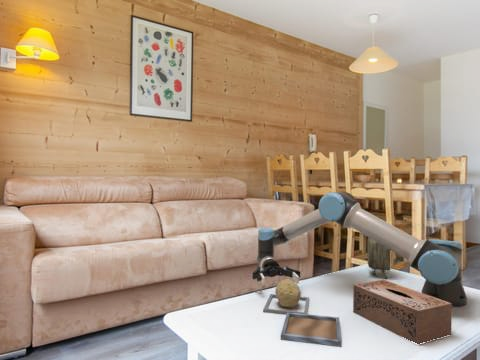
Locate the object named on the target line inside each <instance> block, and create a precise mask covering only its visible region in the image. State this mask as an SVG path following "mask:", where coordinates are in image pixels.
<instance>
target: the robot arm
mask: <svg viewBox="0 0 480 360" xmlns="http://www.w3.org/2000/svg"><path fill="white" fill-rule="evenodd" d="M329 222H330V223H336V224H338V225H340V226H341V227H343V228H352V229H354V230H355V231H357V232H358V233H361V234H363V235H364V236H365V237H368V239H369V238H371V239H372V240H374V241H376V242H378V243H379V244H381V245H383V246H385V247H386V248H388V249H390V250H391V252H393V253H395V254H397V255H398V256H400V257H401V258H404V259H405V260H407V262H408V264H409V266H410V267H411V268H412V269H414V270H416V271H418V272H419V274H420V275H421V276H422V278H424V280H425V281H424V284H423V286H422V289H421V293H423V294H426V295H429V296H432V297H435V298H438V299H441V300H443V301H446V302H449V303H452V307H462V306H466V305H467V303H468V301H467V299H468V298H467V294H466V291H465V288H464V285H463V282H462V281H463V280H462V278H463V277H462V276H463V275H462V273H463V272H462V268H463V251H464V250H463V245H462V243H461V242H459V241H455V240H444V239H435V238H433V239H432V238H430V239H427V238H425V239H418V238H416V237H415V236H413V235H411V234H409V233H407V232H405V231H404V230H402V229H400V228H398V227H396V226H394V225H392V224H391V223H389V222H387V221H385V220H383V219H381V218H380V217H377V216H376V215H374V214H372V213H371V212H368V211H366V210H365V209H363V208H362V207H361V204H360V202H358V201H357V200H356V198H355V197H354V195H352V194H351V193H349V192H348V191H338V192H337V191H336V192H335V191H334V192H331V191H330V192H329V193H326V194H324V195H323V196H322V197H321V198H320V200H319V203H318V209H315V210H313V211H311V212H309V213H307V214H305V215H304V216H302V217H300V218H297V219H296V220H293V221H291V222H290V223H288V224H286V225H284V226H282V227H279V228H277V229H273V228H271V227H270V228H269V227H263V228H262V227H261V228H259V229H258V233H257V249H258V250H257V251H258V252H257V256H256V263H257V265H258V266H257V267H256V269H254V271H253V272H252V278H251V279H252V280H256V281H257V282H261V284H262V286H265V285H266V278H265V277H268V278H274V277H276V276H278V277H282V276H284V277H289V278H292V281H294V282H295V283H296V284H297V285H299V284H300V279H301V271H300V270H296V269H293V268H290V267H288V266H287V265H285V266H284V267H281V266H280V263H279V262H277V260H276V259H275V257H274V256H275V254H274V252H275V247H276V246H277V247H278V246H280V245H284V244H286V243H287V242H289V241H291V240H294V239H295V238H298V237H300V236H302V235H304V234H306V233H308V232H310V231H312V230H315V229H316V228H318V227H321V226H323V225H326V224H327V223H329Z"/></svg>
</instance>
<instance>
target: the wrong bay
mask: <svg viewBox="0 0 480 360" xmlns="http://www.w3.org/2000/svg"><path fill="white" fill-rule="evenodd" d="M273 299H277V296H276V293H271V294H269V297H268V298H267V301H266V303H265V305H264V307H263V310H262V311H263V313H267V314H268V313H269V314H276V315H279V314H280V315H285V316H286V315H287V312H289V313H299V314H308V312H309V311H308V310H309V304H310V303H309V302H310V297H306V296H301V297H300V300H299V301H305V303H304V304H305V305H304V310H303V311H295V310H287V309H285V310H284V309H276V308H269V306H270V304H271V303H272V300H273Z"/></svg>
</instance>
